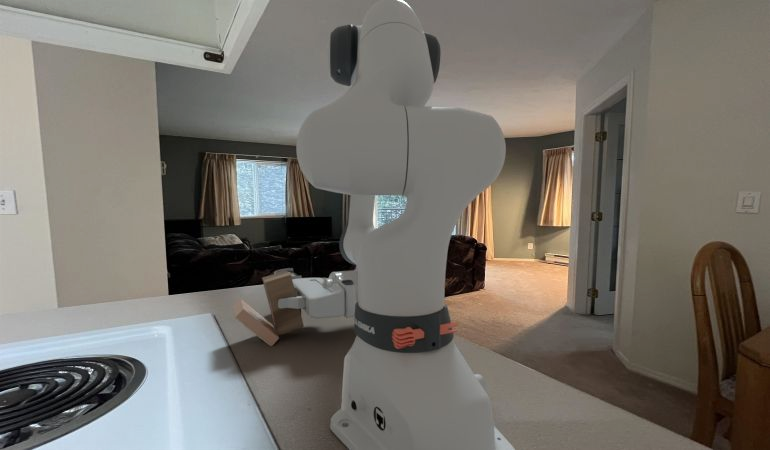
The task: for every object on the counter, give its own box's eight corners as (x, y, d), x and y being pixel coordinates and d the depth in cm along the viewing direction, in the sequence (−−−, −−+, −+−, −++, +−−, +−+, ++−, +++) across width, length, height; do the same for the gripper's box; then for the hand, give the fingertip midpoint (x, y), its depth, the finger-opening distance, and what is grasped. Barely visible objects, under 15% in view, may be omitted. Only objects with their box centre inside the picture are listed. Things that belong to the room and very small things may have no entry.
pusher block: (303, 326, 70) (290, 274, 69) (279, 335, 68) (265, 282, 67) (298, 319, 75) (286, 270, 73) (275, 327, 73) (261, 277, 71)
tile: (279, 338, 67) (243, 308, 64) (270, 347, 66) (234, 318, 63) (272, 325, 74) (240, 298, 71) (265, 333, 74) (232, 306, 70)
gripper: (326, 269, 85) (267, 274, 79) (357, 287, 67) (283, 295, 61) (327, 295, 86) (268, 301, 80) (357, 319, 67) (284, 330, 61)
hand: (275, 299), depth 70 cm, fingers closed on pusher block, 5 cm apart
